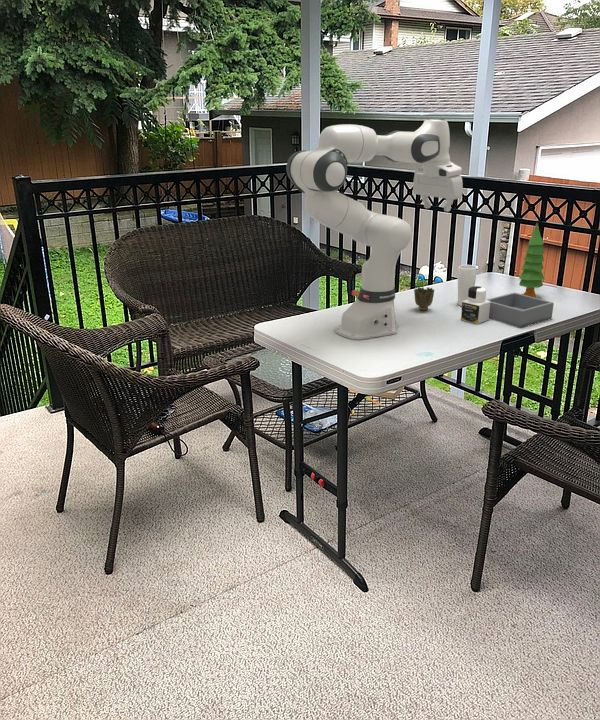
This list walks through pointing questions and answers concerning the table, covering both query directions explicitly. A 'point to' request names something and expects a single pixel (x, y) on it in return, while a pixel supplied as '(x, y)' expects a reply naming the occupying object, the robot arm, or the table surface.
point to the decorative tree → (533, 264)
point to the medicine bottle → (476, 306)
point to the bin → (519, 309)
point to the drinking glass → (465, 281)
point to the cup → (423, 297)
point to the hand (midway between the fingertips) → (437, 209)
